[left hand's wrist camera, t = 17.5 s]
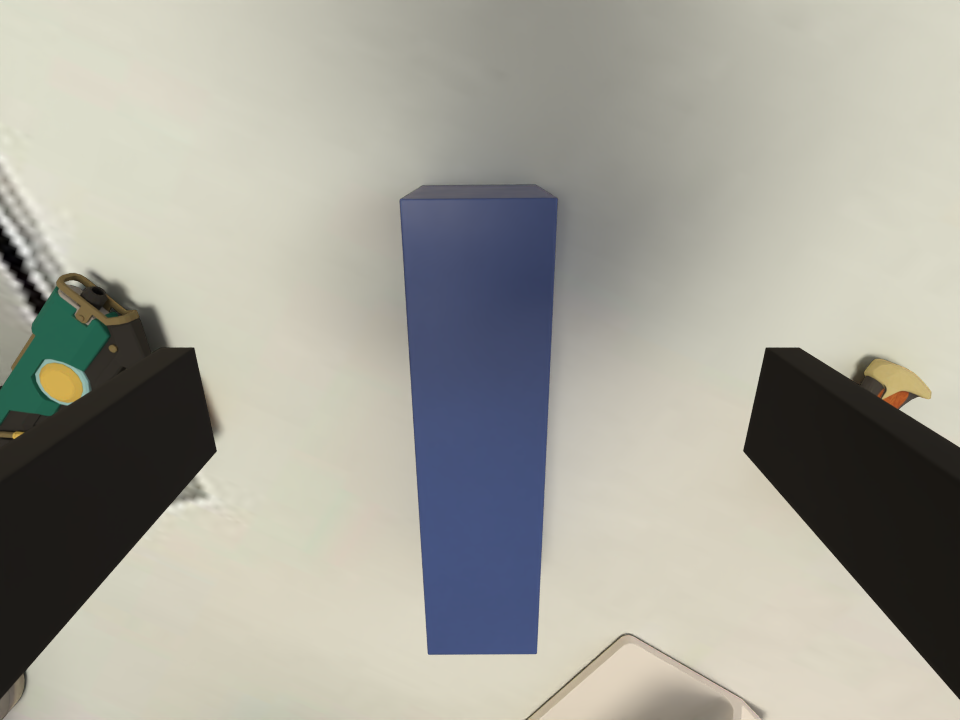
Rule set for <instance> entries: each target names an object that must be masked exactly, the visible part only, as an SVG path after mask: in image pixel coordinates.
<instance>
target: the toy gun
mask: <svg viewBox="0 0 960 720" xmlns="http://www.w3.org/2000/svg"><path fill="white" fill-rule="evenodd" d="M864 375H865V378H864V379H863V381H862V383H861V385H860V386H862V387H863V388H865V389H867V390H868V391H870V392H871V393H873V394H875V395H876V396H878V397H879V398H881V399H883V400H884V401H886V402H887V403H889V404H891V405H892V406H894V407H895V408H897V409H900V408H901V407H902V406H903V405H905V404H906V403H907V402H909V401H910V400H912V399H914V398H916V397H922V398H926V399H930V398H931V391H930V389H929V388H928V387H927V386H926V384H925V383H924V382H923V381H922V380H921V379H920V378H919V377H918V376H917V375H916V374H915V373H913V372H912V371H910V370H908V369H907V368H904V367H902V366H899V365H897V364H894V363H891V362H889V361H886V360H883V359H875V360H873V361H872V362H871V364H870V365H869V366H868V367H867V369H866V370H865V372H864Z"/></svg>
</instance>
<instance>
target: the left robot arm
mask: <svg viewBox="0 0 960 720" xmlns="http://www.w3.org/2000/svg"><path fill="white" fill-rule="evenodd" d="M216 451H217V450H216V445H215V441H214V436H213V432H212V427H211V423H210V418H209V413H208V409H207V404H206V400H205V395H204V391H203V386H202V381H201V377H200V372H199V368H198V363H197V358H196V354H195V349H194V348H159V349H158V350H156V351H155V352H153V353H151V354H150V355H148V356H147V357H145V358H143V359H142V360H140V361H138V362H137V363H135V364H134V365H132V366H130V367H129V368H127V369H126V370H124V371H122V372H121V373H119V374H118V375H116V376H114V377H113V378H111V379H110V380H108V381H106V382H105V383H103V384H102V385H100V386H98V387H97V388H95V389H93V390H92V391H90V392H89V393H87V394H85V395H84V396H82V397H81V398H79V399H77V400H76V401H74V402H73V403H71V404H69V405H68V406H66V407H65V408H63V409H61V410H60V411H58V412H56V413H55V414H53V415H52V416H50V417H48V418H47V419H45V420H44V421H42V422H40V423H39V424H37V425H36V426H34V427H32V428H31V429H29V430H28V431H26V432H24V433H23V434H21V435H20V436H18V437H16V438H15V439H13V440H11V441H10V442H8V443H7V444H5V445H3V446H2V447H0V699H1V698H2V697H3V696H4V695H5V694H6V692H7V691H8V690H9V689H10V688H11V687H12V686H13V684H14V683H15V682H16V681H17V680H18V679H19V678H20V676H21V675H22V674H23V673H24V672H25V671H26V670H27V668H28V667H29V666H30V665H31V664H32V663H33V661H34V660H35V659H36V658H37V657H38V656H39V655H40V653H41V652H42V651H43V650H44V649H45V648H46V647H47V645H48V644H49V643H50V642H51V641H52V640H53V639H54V637H55V636H56V635H57V634H58V633H59V632H60V631H61V629H62V628H63V627H64V626H65V625H66V624H67V622H68V621H69V620H70V619H71V618H72V617H73V616H74V614H75V613H76V612H77V611H78V610H79V609H80V608H81V606H82V605H83V604H84V603H85V602H86V601H87V600H88V598H89V597H90V596H91V595H92V594H93V593H94V591H95V590H96V589H97V588H98V587H99V586H100V585H101V583H102V582H103V581H104V580H105V579H106V578H107V577H108V575H109V574H110V573H111V572H112V571H113V570H114V569H115V567H116V566H117V565H118V564H119V563H120V562H121V560H122V559H123V558H124V557H125V556H126V555H127V554H128V552H129V551H130V550H131V549H132V548H133V547H134V546H135V544H136V543H137V542H138V541H139V540H140V539H141V538H142V536H143V535H144V534H145V533H146V532H147V531H148V530H149V528H150V527H151V526H152V525H153V524H154V523H155V521H156V520H157V519H158V518H159V517H160V516H161V515H162V513H163V512H164V511H165V510H166V509H167V508H168V507H169V505H170V504H171V503H172V502H173V501H174V500H175V499H176V497H177V496H178V495H179V494H180V493H181V492H182V490H183V489H184V488H185V487H186V486H187V485H188V484H189V482H190V481H191V480H192V479H193V478H194V477H195V476H196V474H197V473H198V472H199V471H200V470H201V469H202V468H203V466H204V465H205V464H206V463H207V462H208V461H209V460H210V458H211V457H212V456H213V455H214V454H215V453H216ZM743 451H744V453H745V454H746V455H747V456H748V457H749V458H750V460H751V461H752V462H753V463H754V464H755V465H756V466H757V468H758V469H759V470H760V471H761V472H762V473H763V474H764V476H765V477H766V478H767V479H768V480H769V481H770V482H771V484H772V485H773V486H774V487H775V488H776V489H777V490H778V492H779V493H780V494H781V495H782V496H783V497H784V499H785V500H786V501H787V502H788V503H789V504H790V505H791V507H792V508H793V509H794V510H795V511H796V512H797V513H798V515H799V516H800V517H801V518H802V519H803V520H804V521H805V523H806V524H807V525H808V526H809V527H810V528H811V530H812V531H813V532H814V533H815V534H816V535H817V536H818V538H819V539H820V540H821V541H822V542H823V543H824V544H825V546H826V547H827V548H828V549H829V550H830V551H831V552H832V554H833V555H834V556H835V557H836V558H837V559H838V560H839V562H840V563H841V564H842V565H843V566H844V567H845V569H846V570H847V571H848V572H849V573H850V574H851V575H852V577H853V578H854V579H855V580H856V581H857V582H858V583H859V585H860V586H861V587H862V588H863V589H864V590H865V591H866V593H867V594H868V595H869V596H870V597H871V598H872V600H873V601H874V602H875V603H876V604H877V605H878V606H879V608H880V609H881V610H882V611H883V612H884V613H885V614H886V616H887V617H888V618H889V619H890V620H891V621H892V622H893V624H894V625H895V626H896V627H897V628H898V629H899V631H900V632H901V633H902V634H903V635H904V636H905V637H906V639H907V640H908V641H909V642H910V643H911V644H912V645H913V647H914V648H915V649H916V650H917V651H918V652H919V653H920V655H921V656H922V657H923V658H924V659H925V660H926V661H927V663H928V664H929V665H930V666H931V667H932V668H933V670H934V671H935V672H936V673H937V674H938V675H939V676H940V678H941V679H942V680H943V681H944V682H945V683H946V684H947V686H948V687H949V688H950V689H951V690H952V691H953V692H954V694H955V695H956V696H957V697H958V698H959V699H960V447H958V446H957V445H955V444H953V443H952V442H950V441H949V440H947V439H945V438H944V437H942V436H940V435H939V434H937V433H936V432H934V431H932V430H931V429H929V428H928V427H926V426H924V425H923V424H921V423H920V422H918V421H916V420H915V419H913V418H912V417H910V416H908V415H907V414H905V413H904V412H902V411H900V410H899V409H897V408H895V407H894V406H892V405H891V404H889V403H887V402H886V401H884V400H883V399H881V398H879V397H878V396H876V395H875V394H873V393H871V392H870V391H868V390H867V389H865V388H863V387H862V386H860V385H858V384H857V383H855V382H854V381H852V380H850V379H849V378H847V377H846V376H844V375H842V374H841V373H839V372H838V371H836V370H834V369H833V368H831V367H830V366H828V365H826V364H825V363H823V362H822V361H820V360H818V359H817V358H815V357H813V356H812V355H810V354H809V353H807V352H805V351H804V350H802V349H801V348H766V349H765V354H764V358H763V363H762V368H761V372H760V377H759V381H758V386H757V391H756V395H755V400H754V404H753V409H752V413H751V418H750V423H749V427H748V432H747V436H746V441H745V445H744V450H743Z"/></svg>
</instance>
